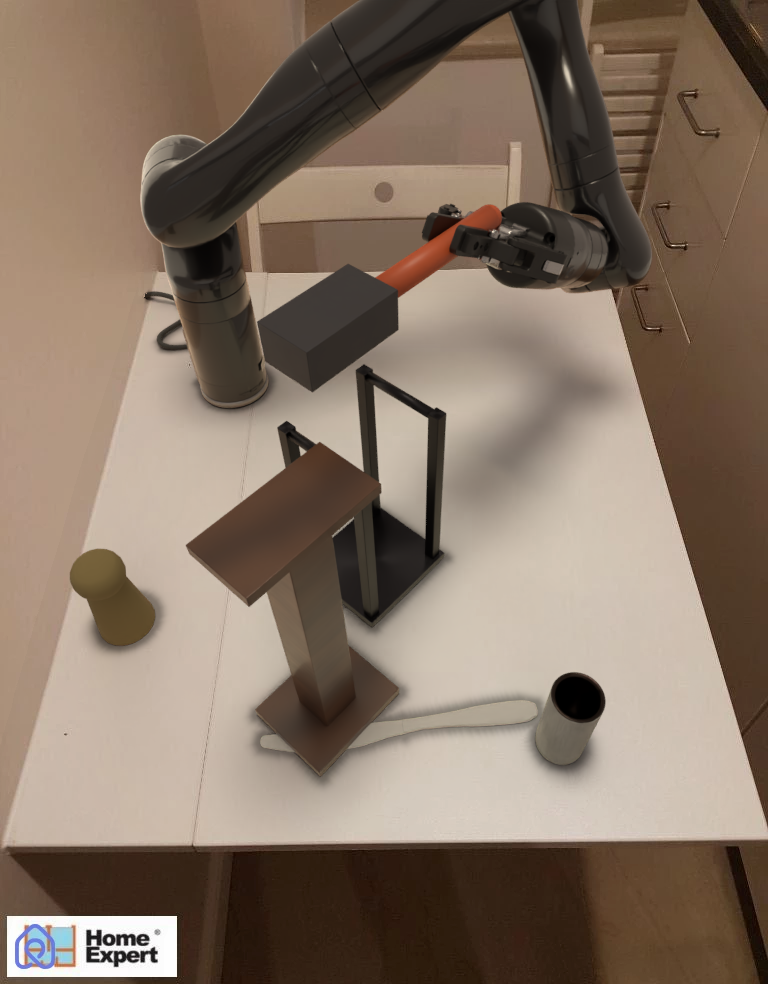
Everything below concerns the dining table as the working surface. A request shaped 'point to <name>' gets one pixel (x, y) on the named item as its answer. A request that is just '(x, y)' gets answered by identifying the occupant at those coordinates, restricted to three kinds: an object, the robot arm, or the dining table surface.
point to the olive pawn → (112, 597)
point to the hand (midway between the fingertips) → (442, 233)
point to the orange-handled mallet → (351, 310)
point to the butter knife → (433, 723)
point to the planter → (569, 717)
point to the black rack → (382, 513)
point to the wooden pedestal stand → (303, 599)
